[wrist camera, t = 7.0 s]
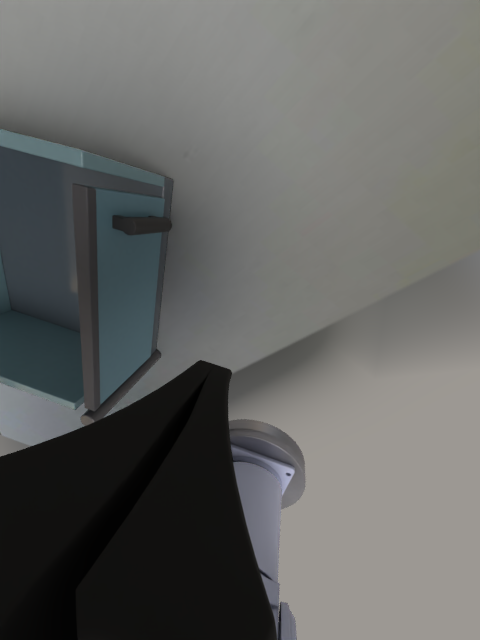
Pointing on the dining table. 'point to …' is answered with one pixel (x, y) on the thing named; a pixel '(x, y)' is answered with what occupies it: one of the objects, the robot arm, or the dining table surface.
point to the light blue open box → (55, 265)
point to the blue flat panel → (115, 283)
